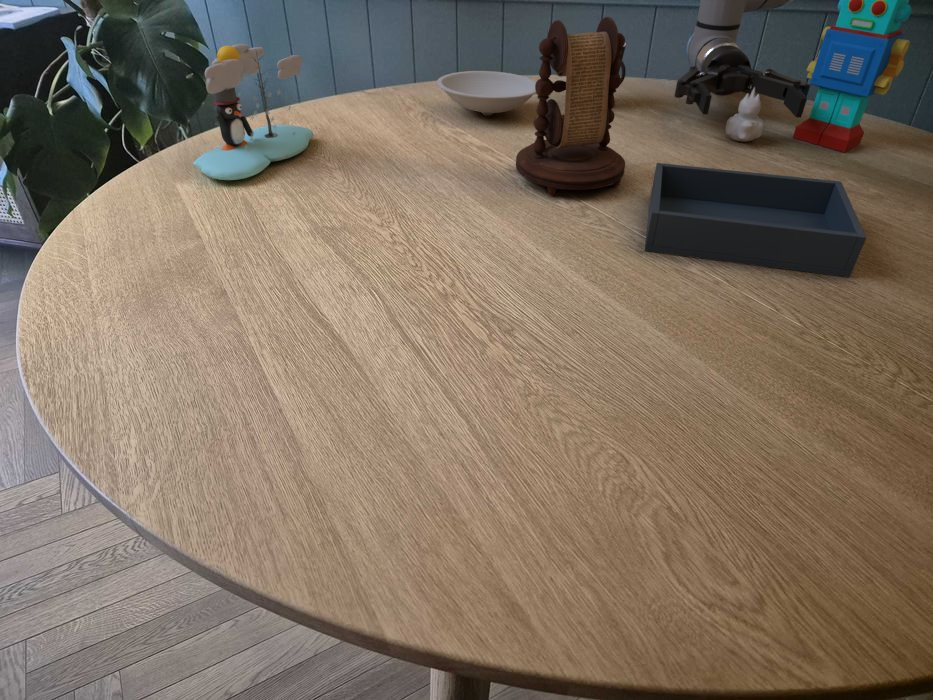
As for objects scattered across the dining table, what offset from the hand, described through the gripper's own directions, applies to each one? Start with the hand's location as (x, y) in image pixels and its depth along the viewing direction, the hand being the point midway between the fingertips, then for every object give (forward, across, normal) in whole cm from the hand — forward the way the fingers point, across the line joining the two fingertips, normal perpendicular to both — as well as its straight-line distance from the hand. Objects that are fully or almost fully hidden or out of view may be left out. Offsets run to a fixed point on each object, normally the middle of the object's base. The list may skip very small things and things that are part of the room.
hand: (754, 106), depth 97 cm
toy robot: (-4, -14, -6) cm, 15 cm away
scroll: (+15, +27, -6) cm, 32 cm away
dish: (-11, +40, -6) cm, 42 cm away
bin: (+29, +7, -6) cm, 31 cm away
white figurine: (-2, 0, -6) cm, 6 cm away
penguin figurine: (+12, +72, -6) cm, 73 cm away
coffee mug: (-17, +22, -6) cm, 28 cm away
